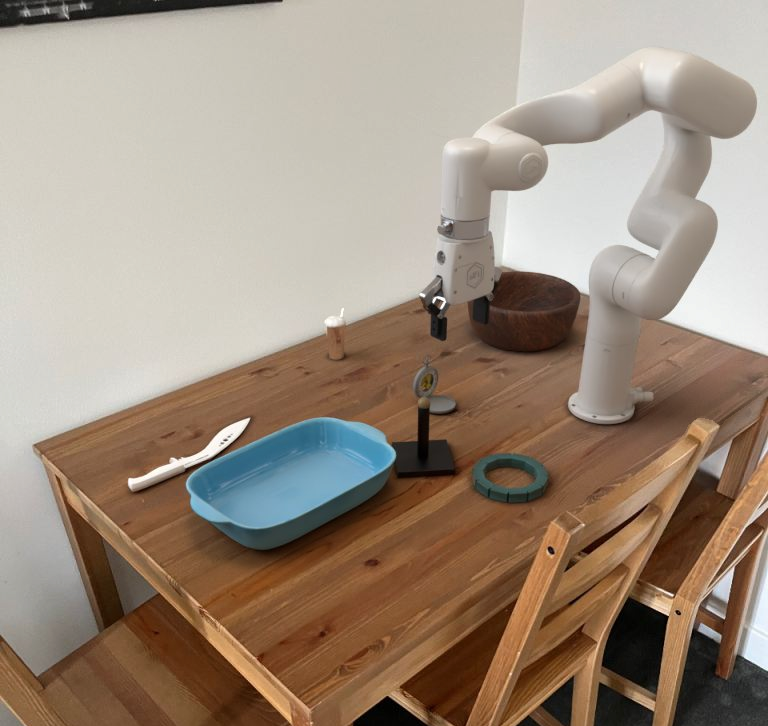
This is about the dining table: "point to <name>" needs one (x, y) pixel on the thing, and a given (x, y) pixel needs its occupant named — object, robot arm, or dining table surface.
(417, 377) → the pocket watch
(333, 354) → the milkshake
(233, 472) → the casserole dish
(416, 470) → the stand
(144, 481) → the knife
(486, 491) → the ring
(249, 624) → the dining table surface
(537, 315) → the wooden bowl
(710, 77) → the robot arm
